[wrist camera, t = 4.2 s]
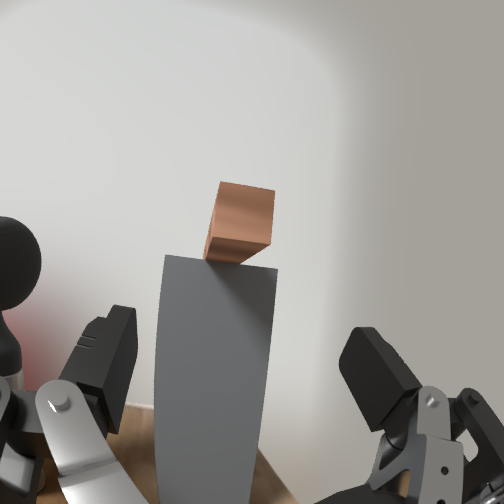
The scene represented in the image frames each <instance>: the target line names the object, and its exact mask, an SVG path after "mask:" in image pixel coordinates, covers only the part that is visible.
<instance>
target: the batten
mask: <svg viewBox="0 0 504 504" xmlns="http://www.w3.org/2000/svg"><path fill="white" fill-rule="evenodd" d="M274 198H275V191H274V190H269V189H263V188H257V187H251V186H246V185H240V184H234V183H227V182H220V185H219V189H218V193H217V197H216V201H215V205H214V209H213V214H212V218H211V222H210V226H209V231H208V236H207V240H206V245H205V249H204V254H203V260H210V261H218V262H226V263H233V264H241V263H242V262H244V261H245V260H247V259H248V258H250V257H251V256H253V255H255V254H256V253H258V252H260V251H261V250H263V249H264V248H266V247H267V246H269V245H270V244H271V233H272V222H273V210H274Z"/></svg>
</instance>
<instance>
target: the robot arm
mask: <svg viewBox="0 0 504 504" xmlns="http://www.w3.org/2000/svg"><path fill="white" fill-rule="evenodd" d="M40 271H41V252H40V248H39V245H38V243H37V240H36V238H35V237H34V235H33V233H32V232H31V231H30V230H29V229H28V228H27V227H26V226H25V225H24V224H22V223H21V222H19V221H17V220H15V219H13V218H9V217H1V216H0V504H36V499H37V492H39V491H40V490H42V489H43V487H44V486H45V482H46V478H45V474H44V471H43V468H42V465H43V461H44V458H51V459H54V460H55V463H56V465H57V467H58V470H59V475H58V481H59V484H60V486H61V489H62V491H63V493H64V495H65V497H66V499H67V501H68V502H69V504H149V503H148V502H147V501H146V499H145V498H144V497H143V495H142V494H141V493H140V491H139V490H138V489H137V487H136V486H135V485H134V483H133V482H132V480H131V479H130V478H129V476H128V475H127V473H126V472H125V470H124V469H123V467H122V466H121V464H120V463H119V461H118V460H117V458H116V457H115V456H114V454H113V453H112V451H111V449H110V447H109V446H108V444H107V442H106V438H107V433H112V434H117V435H118V432H119V427H120V422H121V418H122V413H123V409H124V405H125V401H126V396H127V392H128V389H129V385H130V381H131V377H132V373H133V369H134V366H135V363H136V358H137V352H138V337H137V319H136V310H135V308H131V307H125V306H119V305H113V307H112V308H111V310H110V312H109V314H108V316H107V318H104V317H97V318H96V319H94V320H93V321H91V322H90V323H89V324H88V325H87V326H86V328H85V330H84V331H83V333H82V337H80V339H79V340H78V342H77V346H75V348H74V350H73V351H72V353H71V355H70V357H69V359H68V361H67V363H66V365H65V367H64V369H63V371H62V373H61V375H60V377H59V379H58V380H52V381H49V382H47V383H45V384H44V385H42V386H41V387H40V389H39V390H38V391H25V389H24V380H23V370H22V356H21V348H20V345H19V343H18V341H17V339H16V338H15V337H14V335H13V334H12V333H11V331H10V330H9V329H8V327H7V325H6V323H5V321H4V319H3V316H2V312H1V311H3V310H8V309H11V308H13V307H16V306H17V305H19V304H20V303H22V302H23V301H24V300H25V299H26V298H27V297H28V296H29V295H30V294H31V292H32V291H33V289H34V287H35V286H36V283H37V281H38V278H39V275H40ZM398 355H399V354H398V353H397V352H396V351H395V349H394V348H393V347H392V346H391V345H390V344H389V343H387V342H386V341H385V340H384V339H383V338H382V337H381V335H380V334H379V333H378V332H377V330H375V328H373V327H356V328H354V329H353V330H352V332H351V335H350V337H349V339H348V341H347V343H346V345H345V347H344V349H343V352H342V354H341V356H340V359H339V369H340V372H341V374H342V376H343V378H344V379H345V381H346V383H347V385H348V387H349V389H350V391H351V393H352V395H353V397H354V399H355V401H356V403H357V405H358V407H359V409H360V411H361V412H362V414H363V416H364V418H365V420H366V422H367V424H368V426H369V428H370V430H371V432H375V431H379V430H382V429H384V431H385V433H384V434H383V435H382V437H381V439H380V444H379V448H378V452H377V455H376V459H375V463H374V466H373V470H372V473H371V476H370V477H369V479H368V480H367V482H366V483H365V484H364V485H361V486H358V487H355V488H351V489H348V490H344V491H340V492H337V493H335V494H333V495H331V496H329V497H327V498H325V499H323V500H321V501H319V502H317V503H315V504H504V426H503V425H502V423H501V422H500V420H499V419H498V418H497V416H496V415H495V413H494V412H493V410H492V409H491V408H490V406H489V405H488V404H487V403H486V401H485V400H484V398H483V397H482V396H481V395H480V394H479V393H478V392H477V391H476V390H474V389H471V388H465V389H463V390H462V391H461V393H460V394H459V395H458V397H457V398H447V397H446V395H445V394H444V393H443V392H442V391H441V390H439V389H438V388H435V387H433V386H424V387H423V386H422V385H421V384H420V382H419V381H418V379H417V378H416V377H415V375H414V374H413V373H412V372H411V370H410V369H409V367H408V366H407V365H406V364H405V363H404V361H403V360H402V358H401V357H400V356H398ZM466 429H467V430H468V431H469V433H470V434H471V436H472V438H473V439H474V441H475V442H476V444H477V446H478V454H477V456H476V457H475V458H474V459H473V460H472V461H471V462H469V461H468V460H467V459H466V457H465V455H464V454H463V445H462V443H461V442H457V441H456V439H457V437H459V436H460V435H461V434H462V433H463V431H465V430H466ZM487 483H489V484H487Z"/></svg>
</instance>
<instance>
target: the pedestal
mask: <svg viewBox="0 0 504 504" xmlns="http://www.w3.org/2000/svg"><path fill="white" fill-rule="evenodd" d="M277 273H278V269H274V268H266V267H258V266H249V265H241V264H233V263H226V262H218V261H210V260H202V259H195V258H187V257H180V256H172V255H165V261H164V268H163V276H162V284H161V292H160V302H159V312H158V324H157V338H156V354H155V376H154V441H155V462H156V476H157V488H158V497H159V504H249V499H250V493H251V487H252V481H253V474H254V468H255V461H256V454H257V447H258V440H259V433H260V426H261V418H262V410H263V403H264V395H265V387H266V379H267V370H268V362H269V352H270V343H271V334H272V324H273V314H274V305H275V295H276V282H277Z"/></svg>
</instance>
